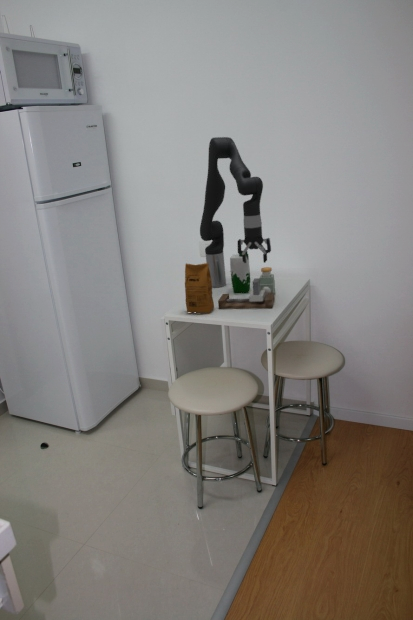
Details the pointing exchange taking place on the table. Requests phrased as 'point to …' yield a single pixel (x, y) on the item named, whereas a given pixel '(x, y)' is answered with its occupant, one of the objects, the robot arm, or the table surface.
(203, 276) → the coffee package
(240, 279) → the milk carton
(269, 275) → the button
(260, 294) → the carriage
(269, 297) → the rail bed
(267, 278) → the cabinet
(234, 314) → the table surface
